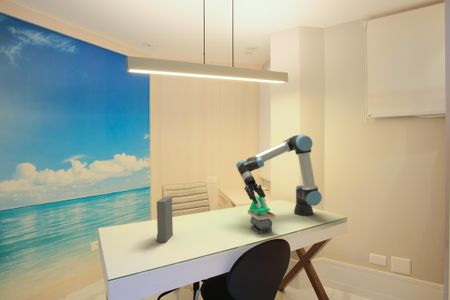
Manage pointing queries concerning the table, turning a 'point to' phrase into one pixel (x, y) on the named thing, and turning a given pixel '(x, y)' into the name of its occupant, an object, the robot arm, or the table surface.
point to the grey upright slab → (164, 219)
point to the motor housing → (261, 221)
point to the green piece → (255, 208)
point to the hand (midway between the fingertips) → (262, 206)
